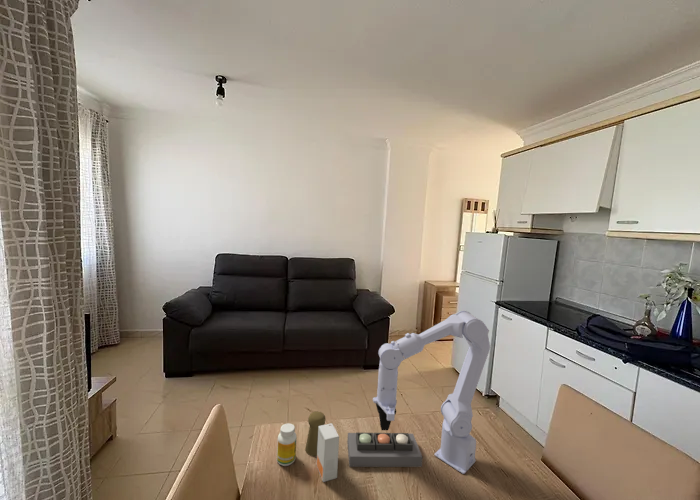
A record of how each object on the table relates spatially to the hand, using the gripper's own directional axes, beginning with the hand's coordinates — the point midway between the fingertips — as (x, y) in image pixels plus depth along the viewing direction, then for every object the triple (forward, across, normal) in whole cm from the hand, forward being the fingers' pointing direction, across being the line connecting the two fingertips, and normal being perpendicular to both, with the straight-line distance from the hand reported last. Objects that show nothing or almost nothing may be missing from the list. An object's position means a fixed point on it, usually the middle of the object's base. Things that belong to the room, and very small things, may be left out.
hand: (384, 428), depth 90 cm
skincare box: (+8, +7, -17) cm, 20 cm away
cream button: (+4, 0, +6) cm, 7 cm away
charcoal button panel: (+8, 0, 0) cm, 8 cm away
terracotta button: (+4, 0, 0) cm, 4 cm away
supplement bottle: (+8, +2, -29) cm, 30 cm away
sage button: (+4, 0, -6) cm, 7 cm away
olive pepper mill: (+8, -2, -20) cm, 22 cm away
